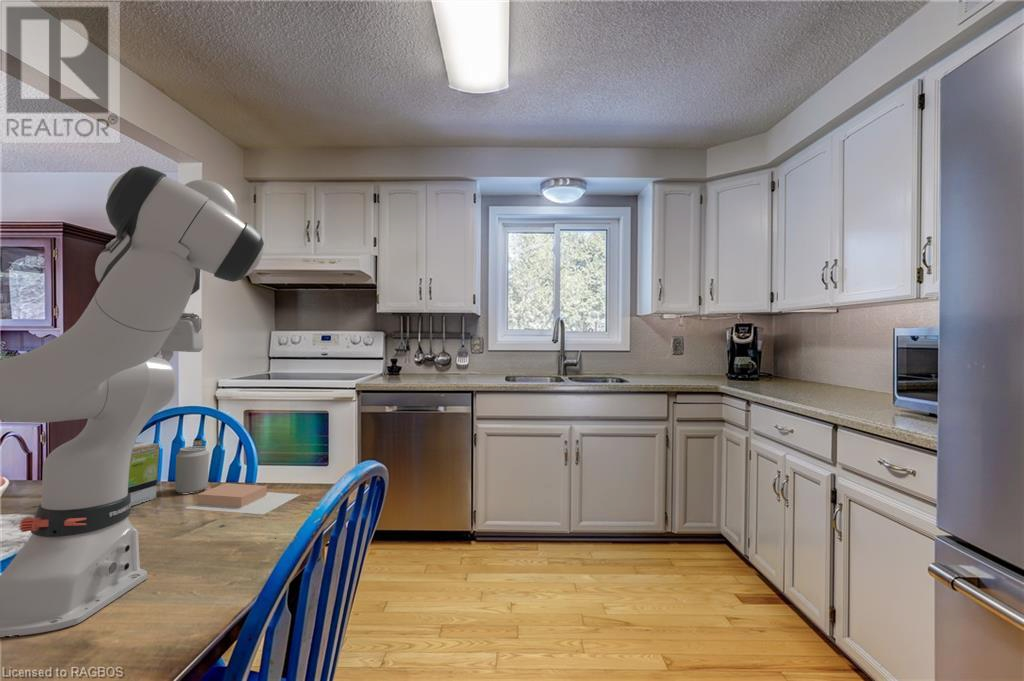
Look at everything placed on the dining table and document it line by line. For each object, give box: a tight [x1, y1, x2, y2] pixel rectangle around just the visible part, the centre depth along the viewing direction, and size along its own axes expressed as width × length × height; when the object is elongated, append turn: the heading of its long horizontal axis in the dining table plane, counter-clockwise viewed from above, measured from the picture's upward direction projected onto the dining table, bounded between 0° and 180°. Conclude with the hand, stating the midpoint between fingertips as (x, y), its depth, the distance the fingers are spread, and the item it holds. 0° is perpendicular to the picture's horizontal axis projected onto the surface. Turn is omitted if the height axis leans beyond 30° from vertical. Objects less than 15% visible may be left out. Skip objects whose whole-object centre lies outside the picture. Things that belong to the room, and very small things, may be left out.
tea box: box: [128, 441, 160, 507], centre depth 120 cm, size 15×10×15 cm, turn 171°
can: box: [174, 445, 210, 494], centre depth 134 cm, size 8×8×12 cm
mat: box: [183, 491, 301, 515], centre depth 125 cm, size 16×21×1 cm
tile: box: [196, 482, 268, 508], centre depth 125 cm, size 10×3×12 cm
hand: (159, 369), depth 115 cm, fingers closed
